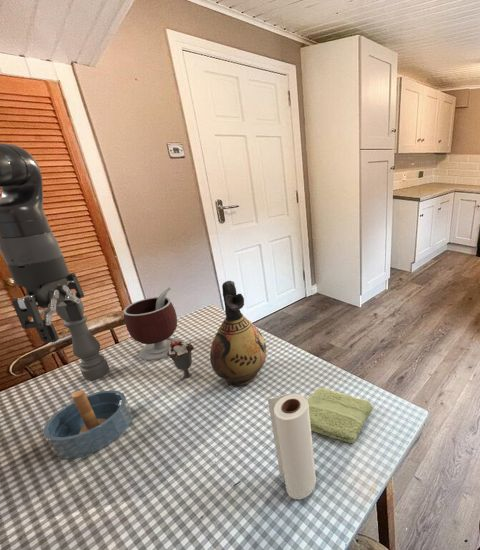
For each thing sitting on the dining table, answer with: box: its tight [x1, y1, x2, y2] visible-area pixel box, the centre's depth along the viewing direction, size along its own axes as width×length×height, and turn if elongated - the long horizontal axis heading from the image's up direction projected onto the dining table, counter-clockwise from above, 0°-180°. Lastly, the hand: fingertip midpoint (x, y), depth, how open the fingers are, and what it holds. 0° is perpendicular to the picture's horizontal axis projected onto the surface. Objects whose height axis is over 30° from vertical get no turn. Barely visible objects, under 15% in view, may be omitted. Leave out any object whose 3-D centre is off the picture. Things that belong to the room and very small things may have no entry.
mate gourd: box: [123, 287, 181, 361], centre depth 102 cm, size 16×14×20 cm
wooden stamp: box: [71, 389, 106, 434], centre depth 71 cm, size 5×5×12 cm
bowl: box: [42, 389, 133, 460], centre depth 72 cm, size 15×15×6 cm
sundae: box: [167, 337, 195, 380], centre depth 89 cm, size 7×7×15 cm
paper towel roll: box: [267, 393, 317, 500], centre depth 58 cm, size 7×6×21 cm
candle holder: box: [55, 298, 111, 381], centre depth 89 cm, size 6×6×25 cm
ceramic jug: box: [209, 280, 268, 388], centre depth 88 cm, size 17×15×30 cm
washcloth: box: [306, 387, 374, 444], centre depth 77 cm, size 13×18×3 cm
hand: (65, 330), depth 63 cm, fingers open, 8 cm apart
